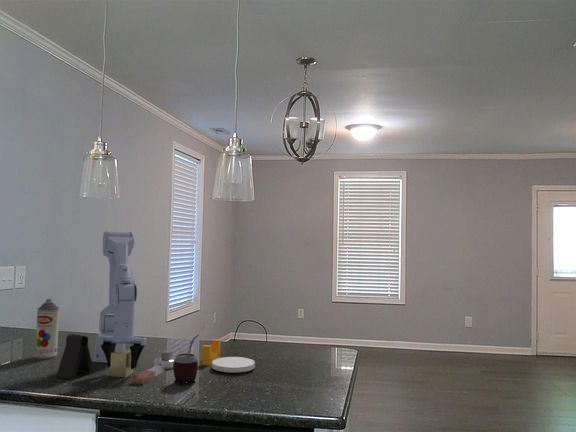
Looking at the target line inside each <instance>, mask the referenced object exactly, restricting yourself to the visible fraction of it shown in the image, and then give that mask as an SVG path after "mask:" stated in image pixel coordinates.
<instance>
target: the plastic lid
mask: <svg viewBox="0 0 576 432" xmlns="http://www.w3.org/2000/svg"><path fill="white" fill-rule="evenodd" d="M255 363H256V362H255V360H254V359H251V358H248V357H243V356H242V357H240V356H226V357H220V358H218V359H215V360H213V361H212V364H211V368H212V369H213V370H215V371H218V372H222V373H223V372H224V373H246V372H249V371H252V370H254V369H255V366H256V364H255Z"/></svg>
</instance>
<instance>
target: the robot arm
mask: <svg viewBox="0 0 576 432" xmlns="http://www.w3.org/2000/svg"><path fill="white" fill-rule="evenodd" d="M134 245H135V234H134V232H133V231H112V230H111V231H109V230H105V231H104V232H103V236H102V253H103V254H102V255H103V256H104V257H107V258H108V262H109V272H108V273H109V276H108V277H109V278H108V279H109V281H108V305H107V306H105V307H104V308H103V309H102V310H101V311H100V313H99V321H98V322H99V323H98V324H99V325H98V326H99V327H98V330H99V333H98V334H97V336H96V337H95V340H94V354H93V356H94V357H93V360H92V363H93V362H94V363H106V364H107V367H108V368H110V365H111V353H112V352H114V351H117V350H119V349H120V350H126V345H131V346H129V350H130V351H131V369H133V370H134V369H136V368H137V365H138V361H139V358H140V357H141V354H142V351H143V349H144V348H145V346H146V345H147V340H148V338H147V337H141V336H134V328H135V327H134V324H135V323H134V322H135V302H136V301H137V297H138V286H137V283H136V281H135V280H134V274H133V268H132V267H131V265H129V257H130V256H131V254H132V251H133V249H134V247H135V246H134Z"/></svg>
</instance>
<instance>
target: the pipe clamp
mask: <svg viewBox="0 0 576 432" xmlns="http://www.w3.org/2000/svg"><path fill="white" fill-rule="evenodd" d="M221 345H222V344H221V339H220V338H219V339H217V338H213V339H212V340H211V344H203V345H202V346H201V347H202V348H201V349H202V350H201V351H202V353H201V365H202V366H210V365H212V361H213V360H215V359H218V358H221Z"/></svg>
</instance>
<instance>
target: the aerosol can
mask: <svg viewBox="0 0 576 432" xmlns="http://www.w3.org/2000/svg"><path fill="white" fill-rule="evenodd" d="M52 300H53V299H52V298H46V300H45V302H43V303H42V304H41V306H40V307H38V308H37V313H36V315H37V316H36V331H35V333H36V334H35V354H34V355H35V356H34V359H36V360H51V359H52V360H53V359H55V358H57V357H58V339H59V338H58V336H59V320H60V307H59V306H57V305H56V304H55V303H54V301H52Z"/></svg>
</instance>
